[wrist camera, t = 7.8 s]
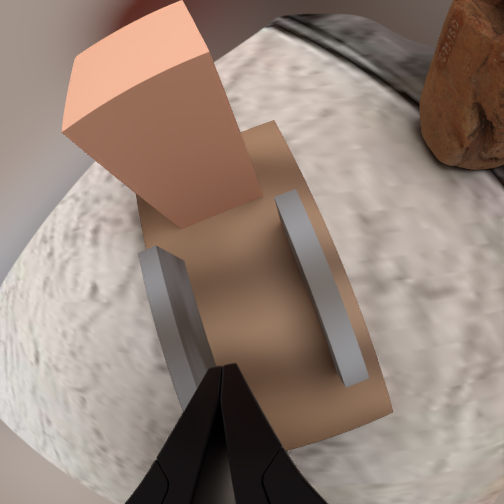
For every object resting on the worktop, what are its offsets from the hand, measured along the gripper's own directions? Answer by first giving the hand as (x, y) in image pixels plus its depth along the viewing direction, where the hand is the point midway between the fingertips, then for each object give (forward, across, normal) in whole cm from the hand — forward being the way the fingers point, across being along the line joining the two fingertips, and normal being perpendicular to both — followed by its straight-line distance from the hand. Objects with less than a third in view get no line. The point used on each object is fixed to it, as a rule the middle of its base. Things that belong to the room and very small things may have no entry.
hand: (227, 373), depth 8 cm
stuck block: (+15, 0, -3) cm, 15 cm away
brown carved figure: (+14, -22, -2) cm, 26 cm away
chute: (+11, 0, +4) cm, 11 cm away
